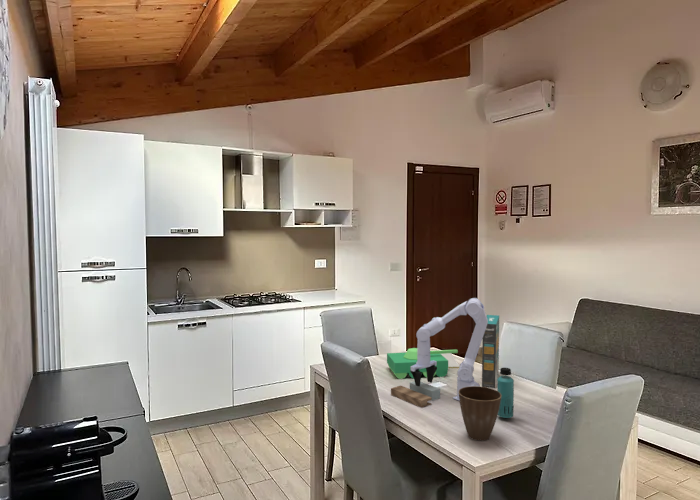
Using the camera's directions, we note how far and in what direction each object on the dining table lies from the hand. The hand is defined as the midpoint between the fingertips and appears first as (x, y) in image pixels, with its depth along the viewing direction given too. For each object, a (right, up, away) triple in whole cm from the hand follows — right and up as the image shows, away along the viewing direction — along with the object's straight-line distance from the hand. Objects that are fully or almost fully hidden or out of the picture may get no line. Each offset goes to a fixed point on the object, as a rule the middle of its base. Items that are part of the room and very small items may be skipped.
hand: (423, 384), depth 220 cm
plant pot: (+14, -8, -42) cm, 45 cm away
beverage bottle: (+28, -7, -26) cm, 39 cm away
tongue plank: (0, -5, 0) cm, 5 cm away
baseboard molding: (+19, -2, +55) cm, 58 cm away
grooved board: (-7, -5, -5) cm, 10 cm away
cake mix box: (+35, -4, +20) cm, 41 cm away
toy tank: (+5, -3, +33) cm, 33 cm away
